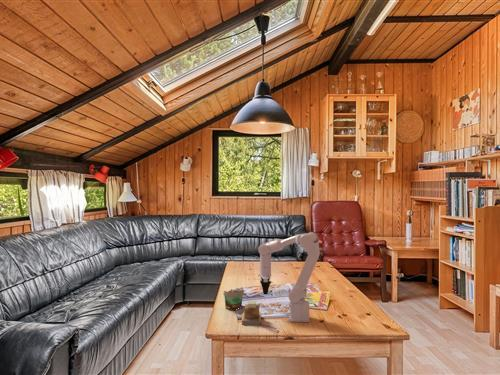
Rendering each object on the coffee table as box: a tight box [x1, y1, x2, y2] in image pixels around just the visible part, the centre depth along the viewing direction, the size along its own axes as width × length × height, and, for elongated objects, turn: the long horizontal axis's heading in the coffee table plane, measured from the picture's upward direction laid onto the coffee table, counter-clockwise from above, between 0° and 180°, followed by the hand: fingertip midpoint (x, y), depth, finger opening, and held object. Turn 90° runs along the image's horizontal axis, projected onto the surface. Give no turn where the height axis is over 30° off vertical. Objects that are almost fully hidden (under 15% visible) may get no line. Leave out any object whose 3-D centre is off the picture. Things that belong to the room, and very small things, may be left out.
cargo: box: [247, 300, 257, 308], centre depth 161 cm, size 4×4×2 cm
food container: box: [223, 286, 245, 311], centre depth 176 cm, size 12×6×10 cm, turn 126°
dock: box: [241, 311, 262, 326], centre depth 161 cm, size 9×10×2 cm
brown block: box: [244, 303, 260, 319], centre depth 161 cm, size 7×5×5 cm
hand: (265, 291), depth 173 cm, fingers open, 7 cm apart
